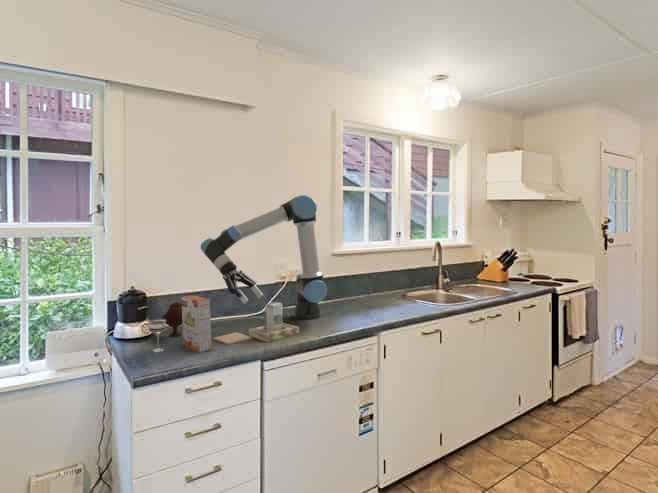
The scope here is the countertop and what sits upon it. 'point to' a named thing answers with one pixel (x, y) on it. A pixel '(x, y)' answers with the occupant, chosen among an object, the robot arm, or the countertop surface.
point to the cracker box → (196, 323)
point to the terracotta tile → (232, 338)
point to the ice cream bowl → (174, 318)
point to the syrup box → (274, 316)
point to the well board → (270, 336)
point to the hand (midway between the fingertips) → (254, 299)
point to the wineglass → (157, 330)
